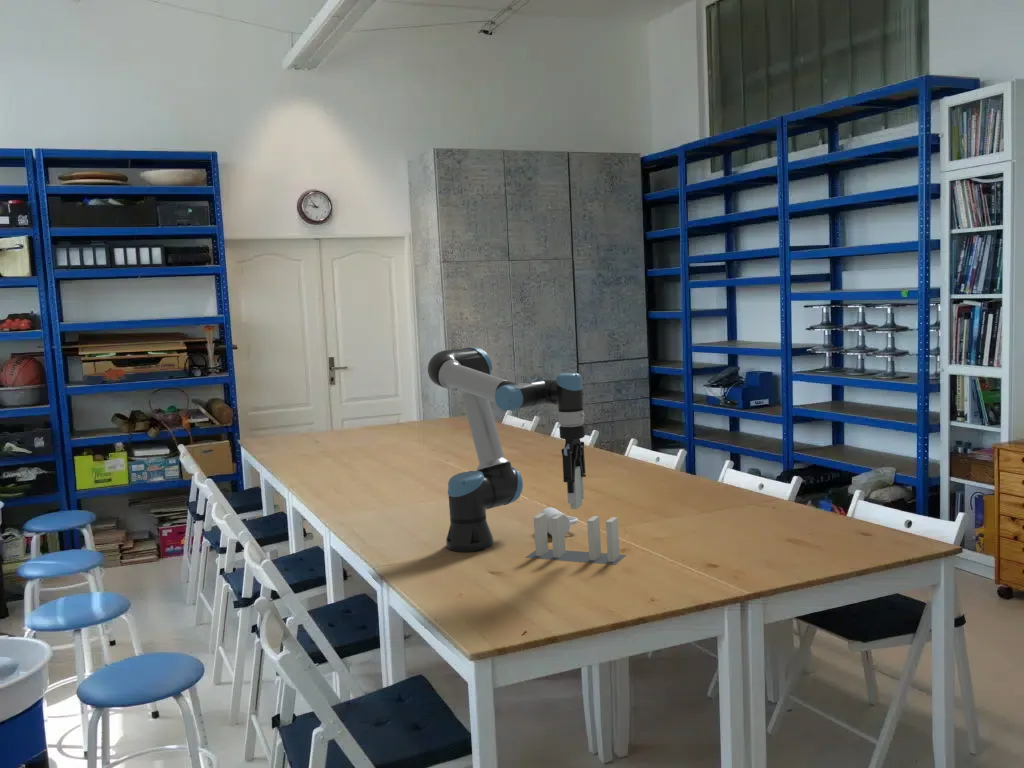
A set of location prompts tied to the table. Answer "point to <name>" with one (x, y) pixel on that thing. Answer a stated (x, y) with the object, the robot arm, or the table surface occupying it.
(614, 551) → the tile
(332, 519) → the table surface
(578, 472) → the tile
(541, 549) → the tile
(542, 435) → the table surface
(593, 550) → the tile
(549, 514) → the mug
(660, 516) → the table surface
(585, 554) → the strip
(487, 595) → the table surface
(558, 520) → the tile
